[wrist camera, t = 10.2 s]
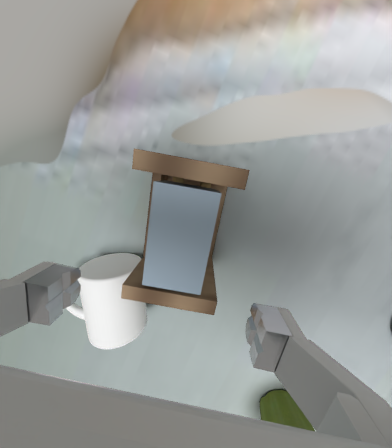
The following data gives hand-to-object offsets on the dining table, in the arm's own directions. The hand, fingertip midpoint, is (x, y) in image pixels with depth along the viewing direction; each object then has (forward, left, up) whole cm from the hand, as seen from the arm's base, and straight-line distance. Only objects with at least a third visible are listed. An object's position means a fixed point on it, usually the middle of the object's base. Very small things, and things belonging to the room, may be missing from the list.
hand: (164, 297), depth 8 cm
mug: (+10, +13, -19) cm, 25 cm away
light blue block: (0, 0, -12) cm, 12 cm away
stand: (0, 0, -18) cm, 18 cm away
